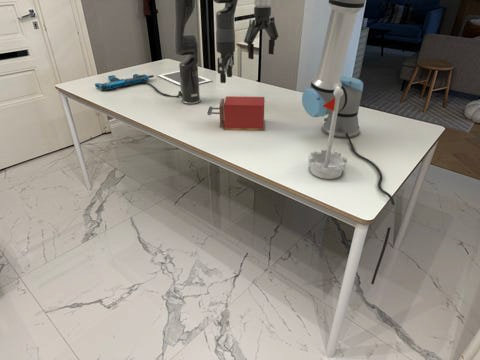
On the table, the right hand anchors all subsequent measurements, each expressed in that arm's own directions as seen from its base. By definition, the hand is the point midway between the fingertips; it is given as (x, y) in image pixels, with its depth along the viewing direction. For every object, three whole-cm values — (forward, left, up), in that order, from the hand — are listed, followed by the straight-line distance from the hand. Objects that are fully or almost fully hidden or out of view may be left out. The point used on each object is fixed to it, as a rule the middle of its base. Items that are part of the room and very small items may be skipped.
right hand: (261, 56), depth 161 cm
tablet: (+64, +21, -25) cm, 71 cm away
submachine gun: (+72, +57, -25) cm, 95 cm away
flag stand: (-66, +9, -25) cm, 71 cm away
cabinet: (-17, +17, -25) cm, 35 cm away
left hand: (-14, +24, -4) cm, 28 cm away
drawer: (-15, +22, -24) cm, 36 cm away
